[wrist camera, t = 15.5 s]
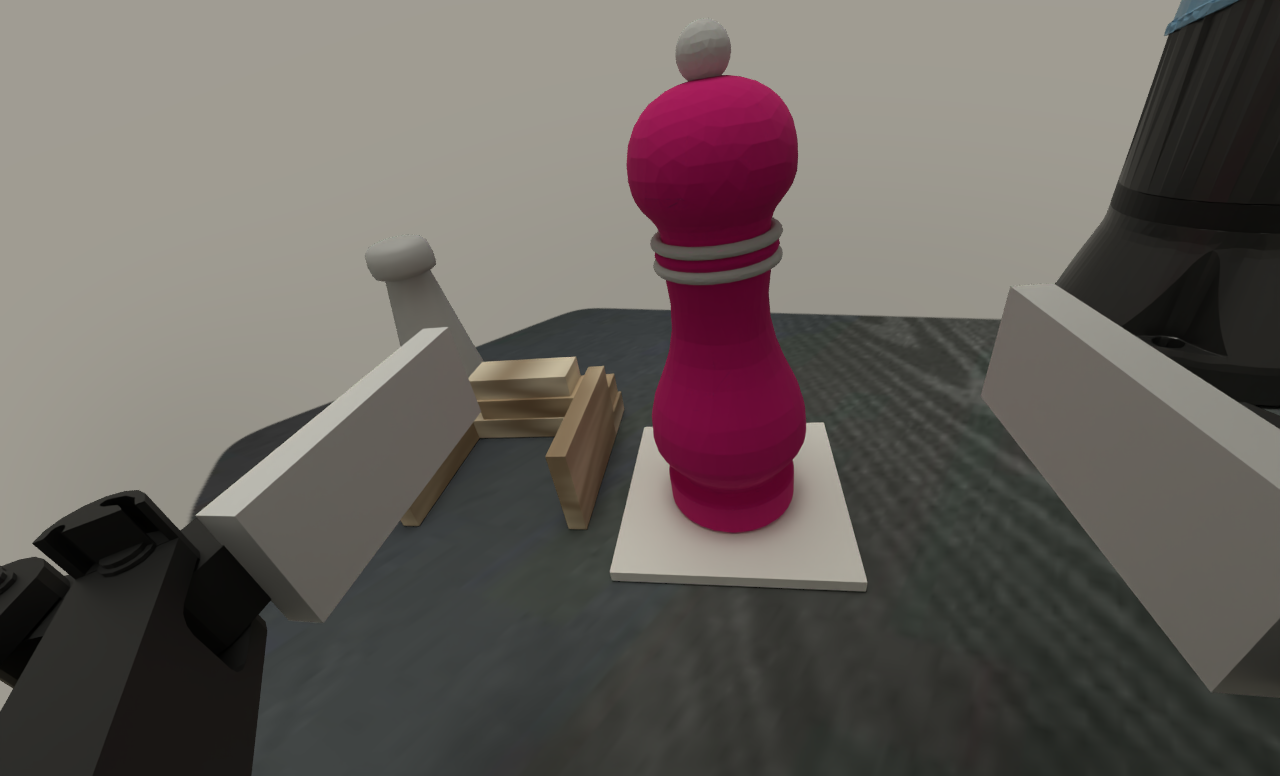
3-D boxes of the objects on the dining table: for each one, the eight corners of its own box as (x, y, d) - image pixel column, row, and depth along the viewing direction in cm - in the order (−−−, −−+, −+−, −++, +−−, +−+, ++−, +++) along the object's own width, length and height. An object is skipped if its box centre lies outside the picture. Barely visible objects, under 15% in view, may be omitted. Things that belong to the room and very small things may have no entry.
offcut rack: (624, 408, 34) (612, 347, 32) (586, 529, 25) (565, 456, 23) (484, 413, 37) (462, 356, 34) (403, 525, 28) (365, 459, 25)
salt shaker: (416, 427, 36) (334, 259, 30) (427, 390, 41) (358, 239, 35) (493, 408, 37) (430, 240, 30) (495, 374, 42) (441, 222, 35)
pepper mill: (640, 520, 24) (540, 42, 14) (693, 435, 30) (648, 42, 19) (785, 561, 21) (793, -23, 11) (815, 458, 26) (841, -2, 16)
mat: (823, 430, 29) (823, 422, 29) (865, 591, 20) (867, 582, 20) (645, 434, 31) (644, 426, 31) (612, 580, 22) (609, 572, 22)
